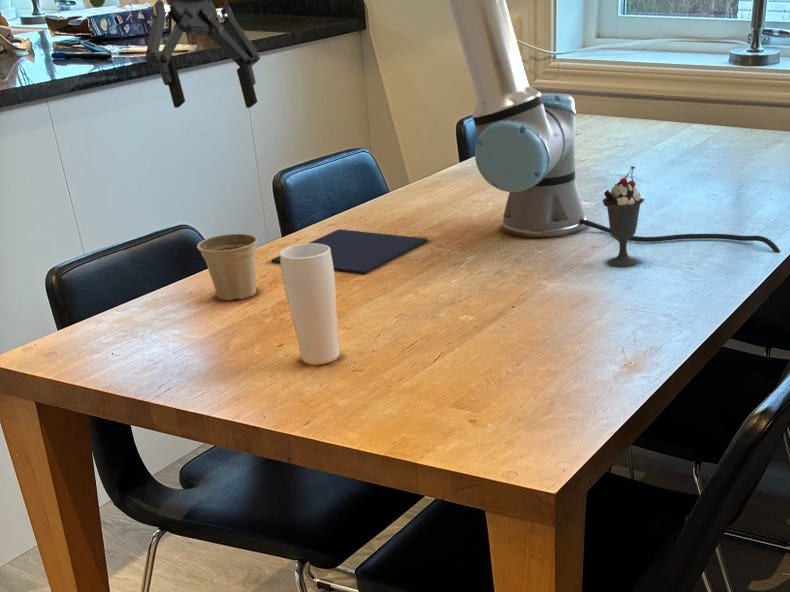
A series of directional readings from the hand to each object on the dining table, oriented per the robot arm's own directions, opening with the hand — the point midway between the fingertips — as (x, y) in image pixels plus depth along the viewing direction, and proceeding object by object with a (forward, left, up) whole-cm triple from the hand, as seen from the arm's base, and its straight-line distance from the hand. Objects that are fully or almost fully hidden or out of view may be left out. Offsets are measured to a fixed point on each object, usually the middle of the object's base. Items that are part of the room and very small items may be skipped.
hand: (216, 104), depth 175 cm
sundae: (-67, -17, -26) cm, 74 cm away
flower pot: (-15, +19, -26) cm, 35 cm away
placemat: (-19, -7, -25) cm, 32 cm away
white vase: (-45, +36, -26) cm, 63 cm away
